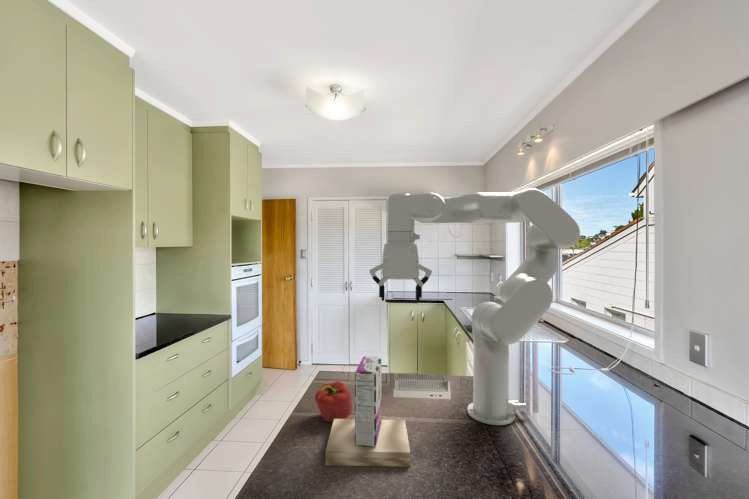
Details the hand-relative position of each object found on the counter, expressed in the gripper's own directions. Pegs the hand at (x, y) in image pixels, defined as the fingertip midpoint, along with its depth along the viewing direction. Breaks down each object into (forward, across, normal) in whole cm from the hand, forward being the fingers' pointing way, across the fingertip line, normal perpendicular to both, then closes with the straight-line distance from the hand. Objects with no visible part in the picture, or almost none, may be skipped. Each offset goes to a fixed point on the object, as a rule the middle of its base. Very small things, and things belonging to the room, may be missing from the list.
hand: (400, 300), depth 94 cm
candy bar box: (+29, +8, +15) cm, 34 cm away
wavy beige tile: (+32, +8, +15) cm, 36 cm away
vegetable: (+32, +18, +2) cm, 37 cm away
